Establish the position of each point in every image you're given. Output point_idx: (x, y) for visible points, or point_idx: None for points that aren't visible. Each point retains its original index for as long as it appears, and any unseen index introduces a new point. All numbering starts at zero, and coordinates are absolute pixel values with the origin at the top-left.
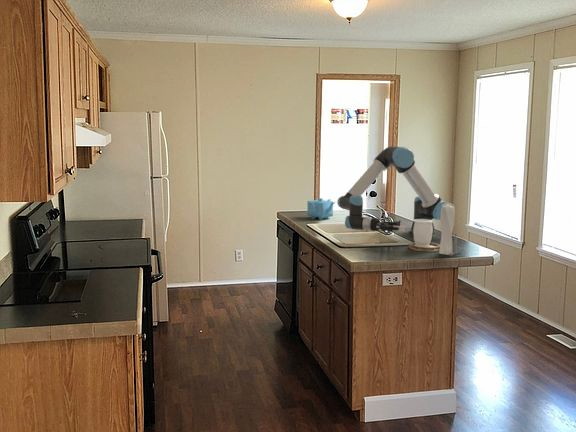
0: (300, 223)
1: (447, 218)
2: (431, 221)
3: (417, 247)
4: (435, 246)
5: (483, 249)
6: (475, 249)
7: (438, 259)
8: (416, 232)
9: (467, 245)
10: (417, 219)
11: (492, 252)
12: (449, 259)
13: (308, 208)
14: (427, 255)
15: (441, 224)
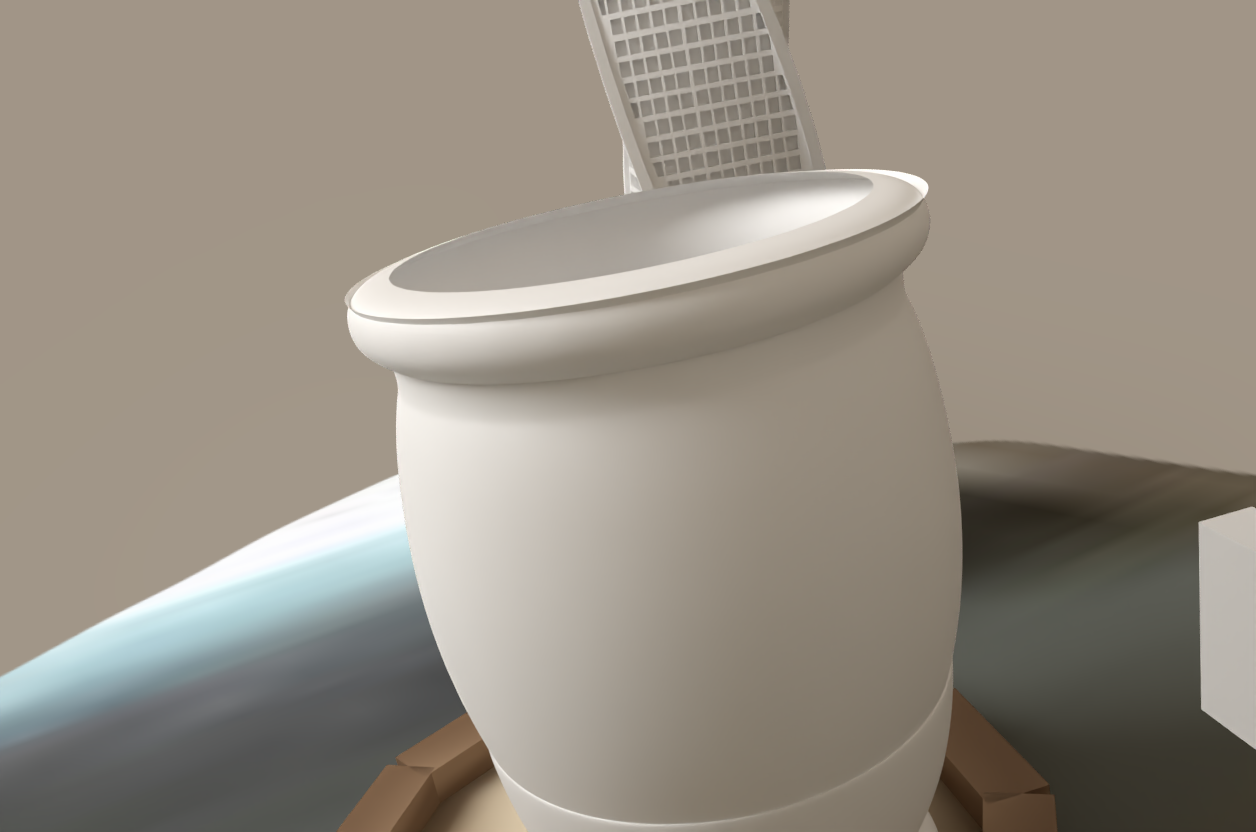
0: None
1: (781, 6)
2: (641, 195)
3: (1043, 785)
4: (500, 786)
5: (241, 561)
6: (281, 583)
7: (1184, 475)
8: (960, 519)
9: (17, 717)
10: (492, 327)
11: (366, 489)
12: (1044, 453)
13: None
14: (1157, 606)
15: (808, 130)
